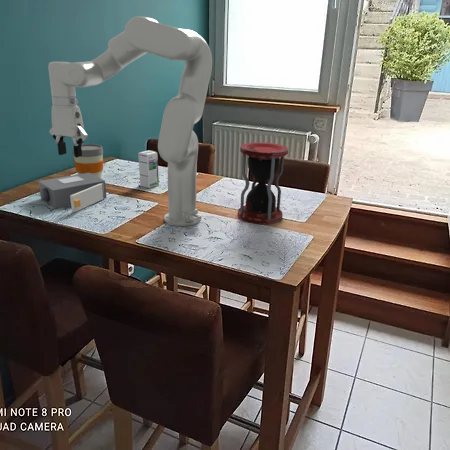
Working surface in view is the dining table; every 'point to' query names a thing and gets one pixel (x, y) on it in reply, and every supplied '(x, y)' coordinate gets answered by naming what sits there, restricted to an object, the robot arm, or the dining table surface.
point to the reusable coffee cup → (90, 160)
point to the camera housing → (67, 188)
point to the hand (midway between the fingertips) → (70, 155)
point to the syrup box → (148, 168)
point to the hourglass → (262, 182)
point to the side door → (87, 197)
